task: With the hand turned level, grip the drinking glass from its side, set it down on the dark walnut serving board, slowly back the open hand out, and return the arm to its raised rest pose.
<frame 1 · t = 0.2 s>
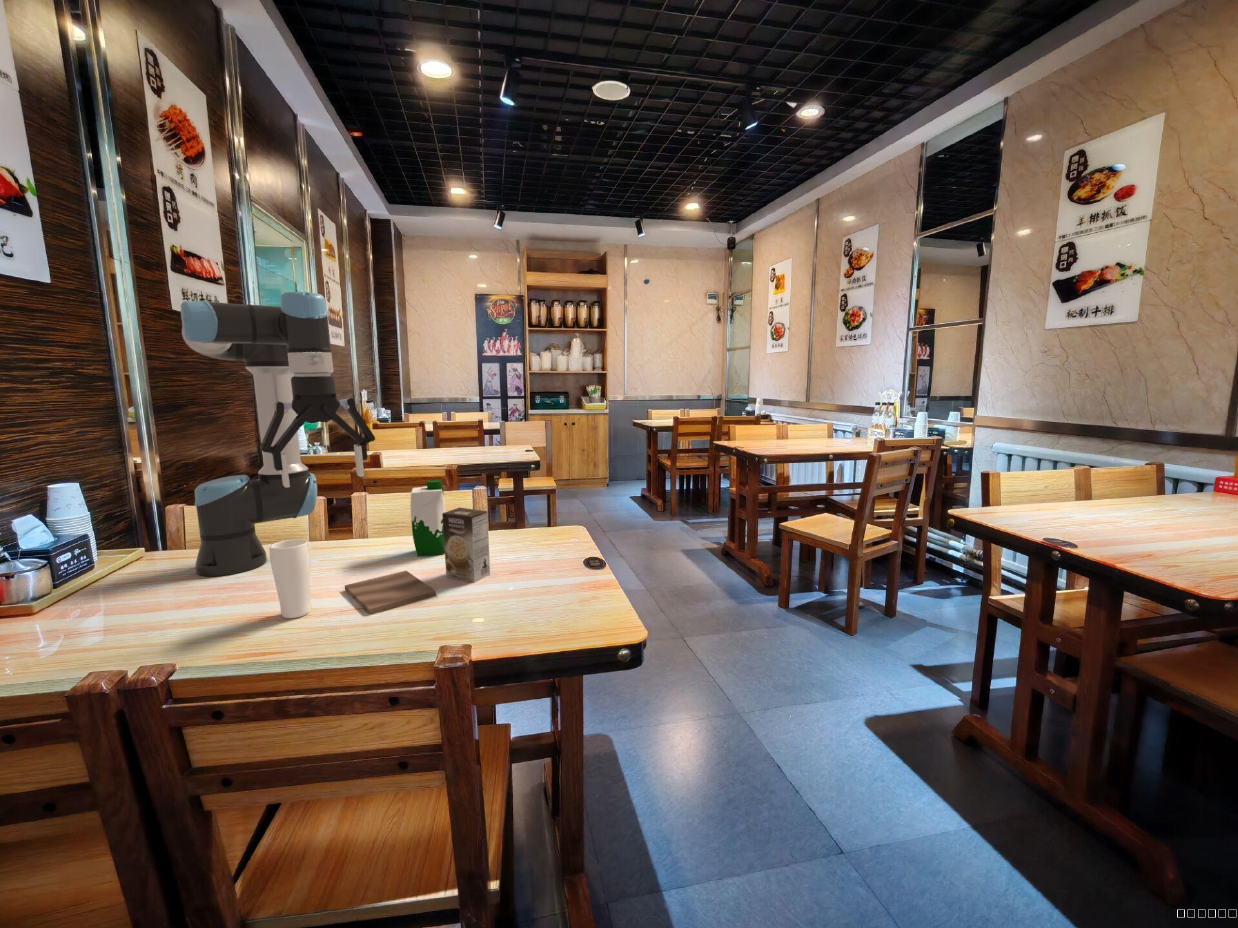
hand: (325, 480, 110), 27 cm above the table, tool pointing down, fingers open, 13 cm apart
serving board: (389, 593, 121), on the table
milk carton: (431, 552, 151), on the table
drinking glass: (297, 614, 111), on the table
coffee box: (468, 576, 132), on the table
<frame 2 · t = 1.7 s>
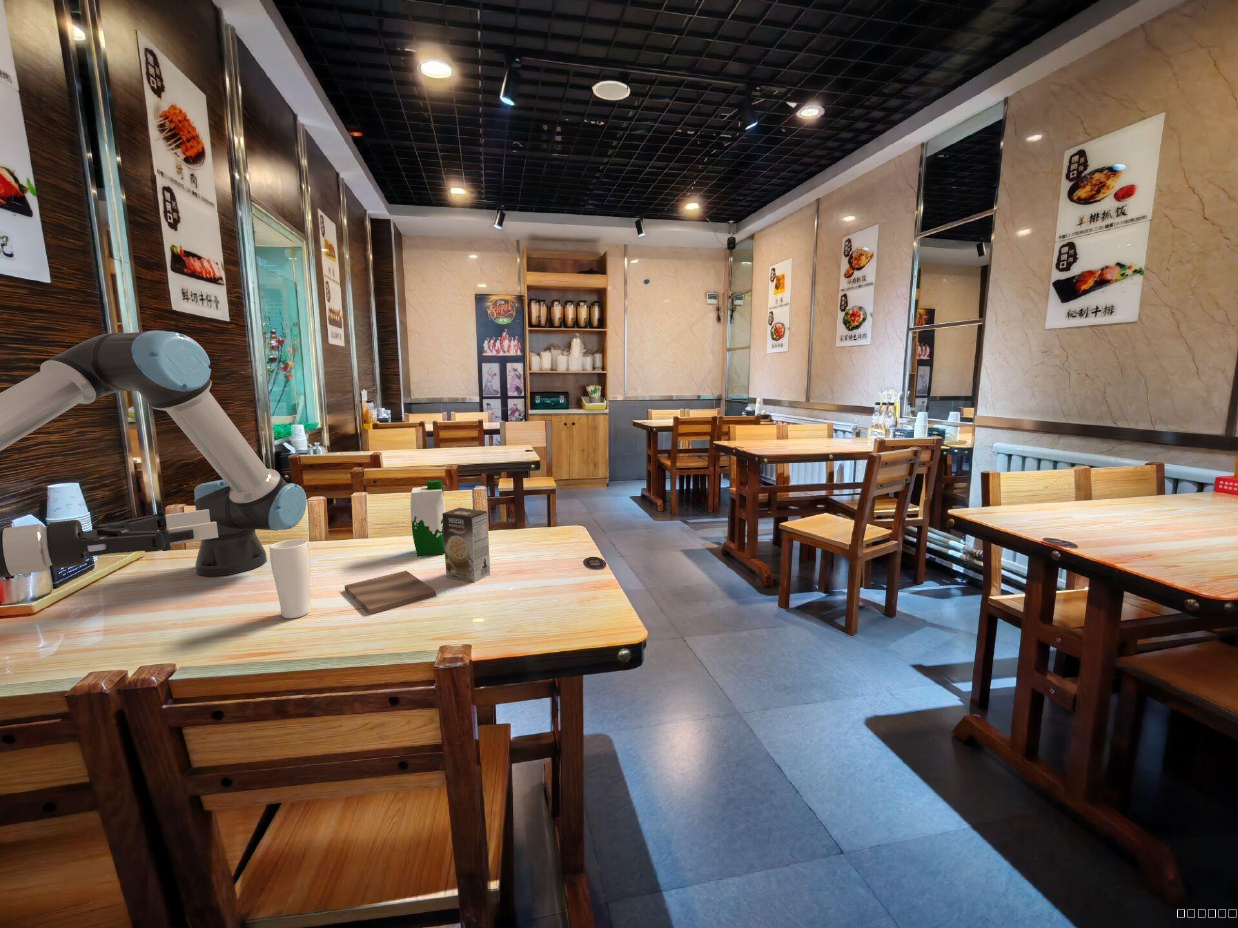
hand: (213, 522, 100), 22 cm above the table, tool horizontal, fingers open, 13 cm apart
nothing on the table moved.
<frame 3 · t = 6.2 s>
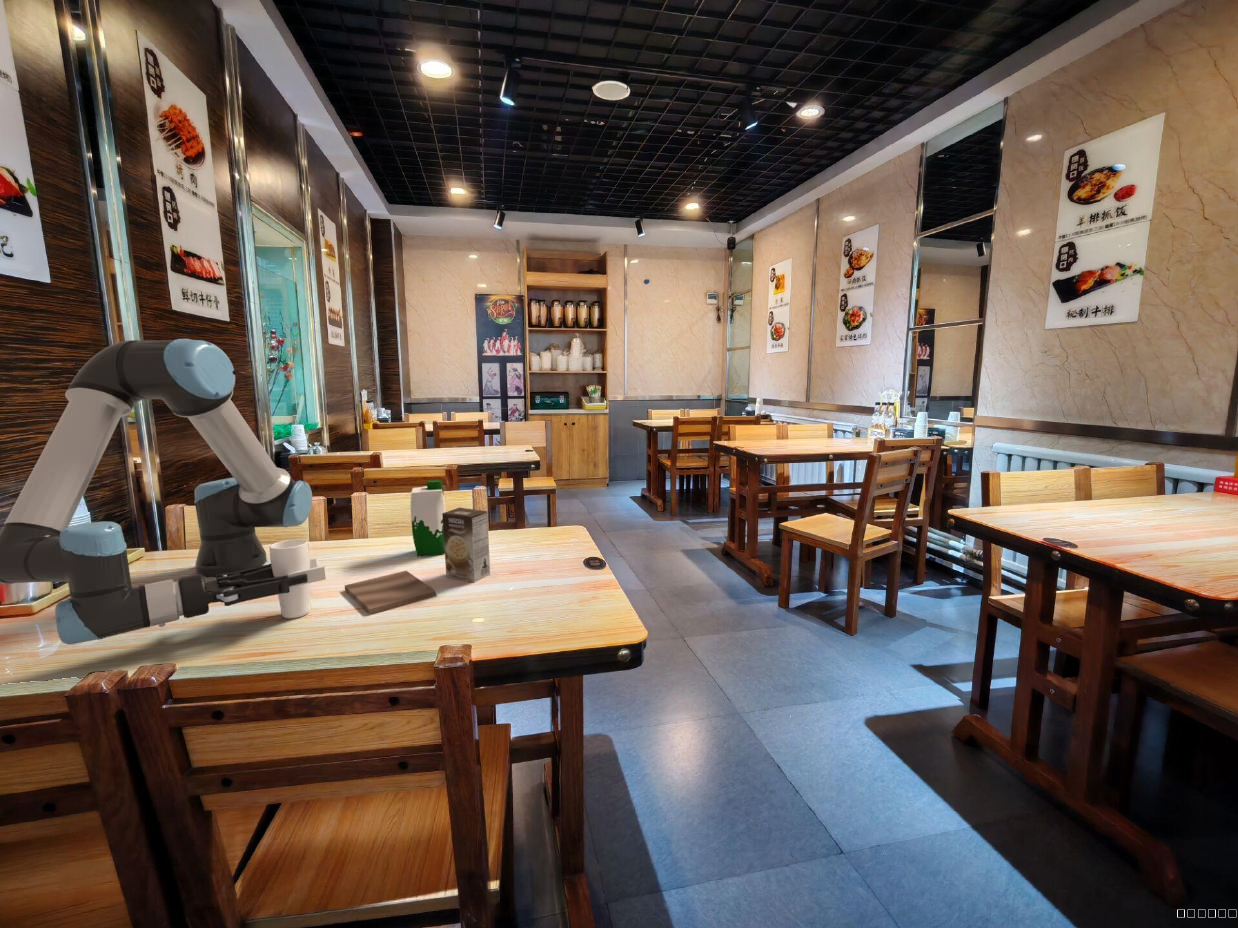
hand: (320, 568, 113), 9 cm above the table, tool horizontal, fingers closed on drinking glass, 6 cm apart
drinking glass: (297, 614, 111), on the table, touching gripper
everything else where it was.
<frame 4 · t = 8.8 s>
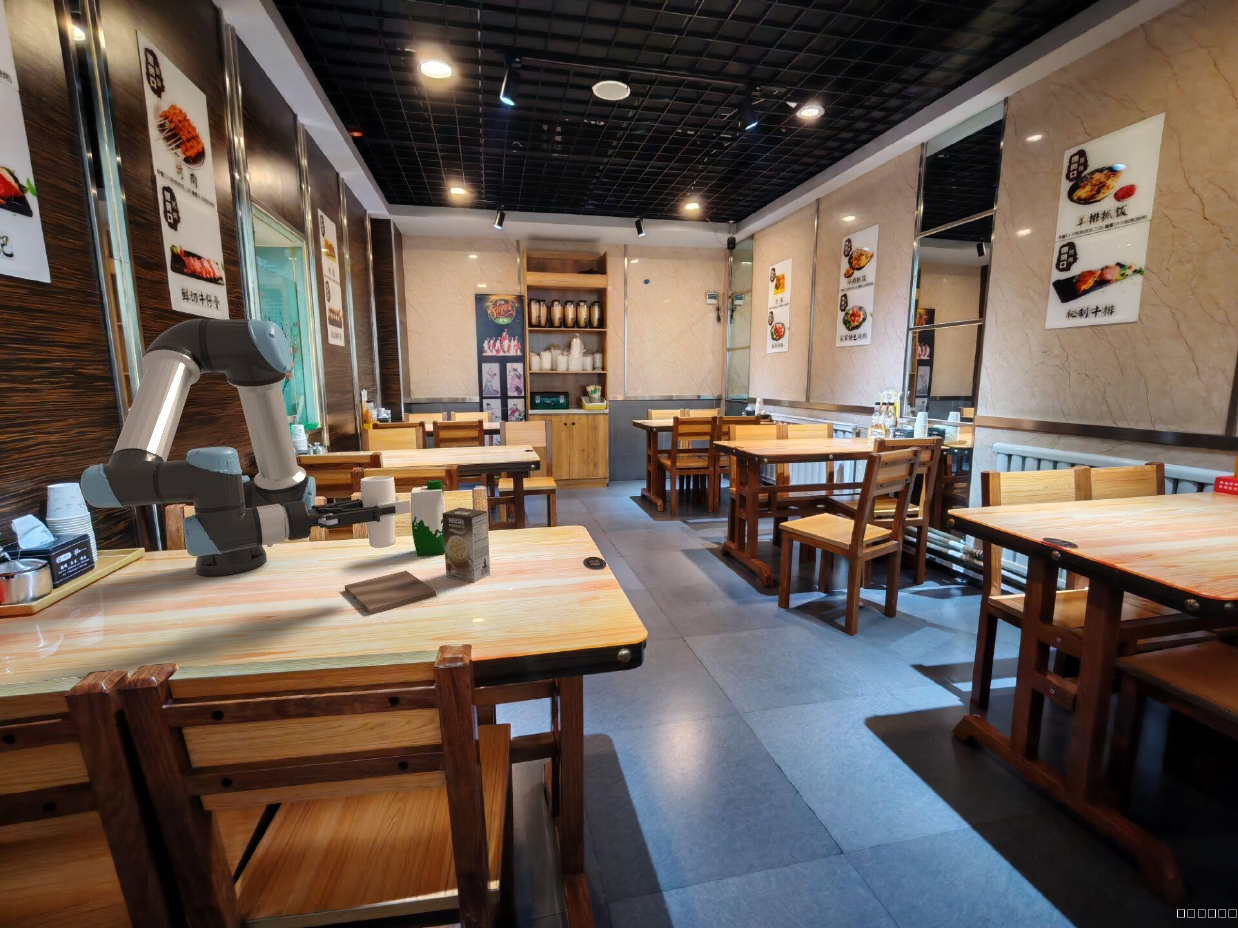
hand: (403, 503, 121), 20 cm above the table, tool horizontal, fingers closed on drinking glass, 6 cm apart
drinking glass: (383, 545, 119), point 11 cm above the table, touching gripper
everything else where it was.
when the fingers open (10 cm above the table, at t = 11.6 s): drinking glass stays where it is, resting on serving board.
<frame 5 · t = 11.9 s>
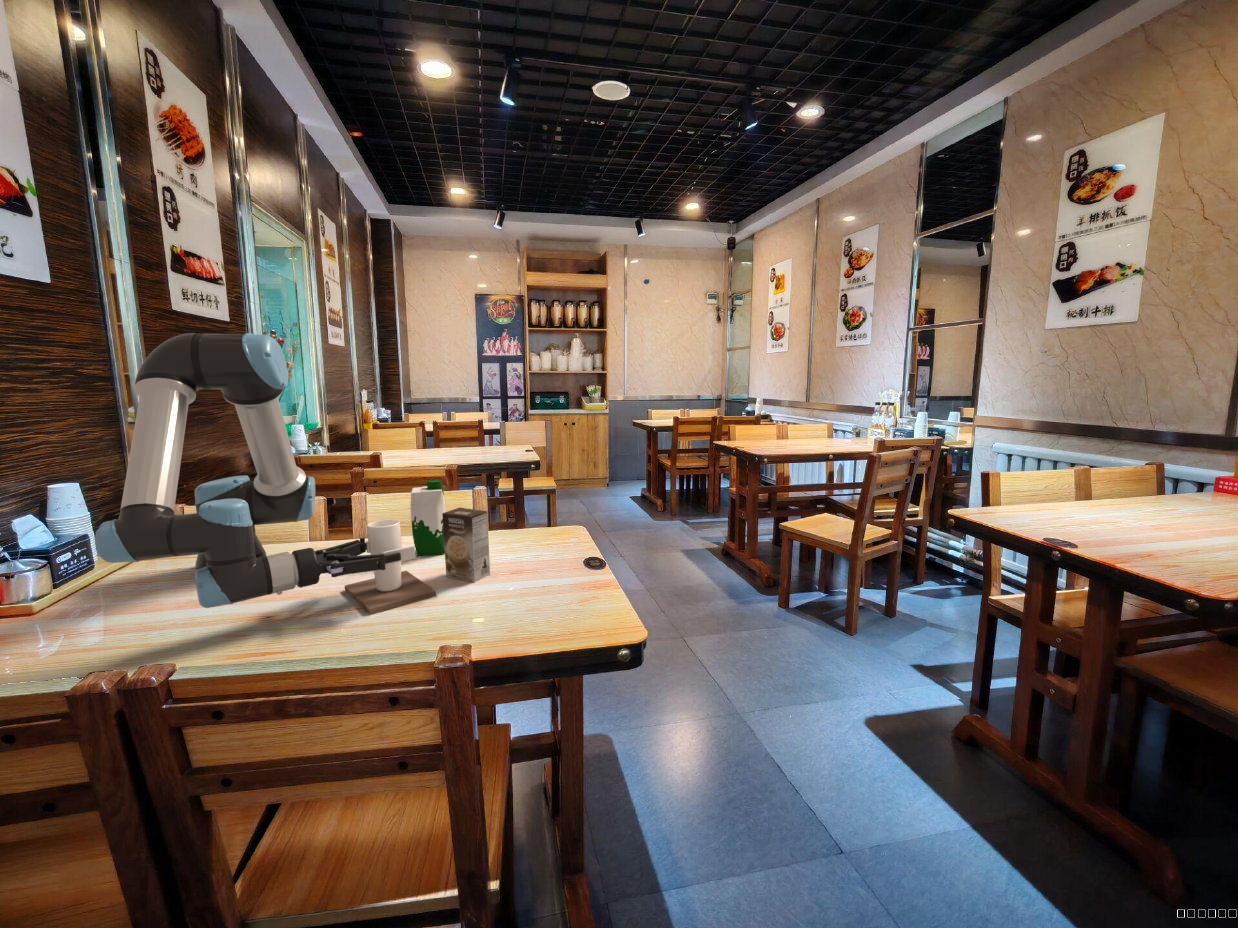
hand: (404, 546, 123), 10 cm above the table, tool horizontal, fingers open, 10 cm apart
drinking glass: (389, 588, 121), point 1 cm above the table, touching serving board
everything else where it was.
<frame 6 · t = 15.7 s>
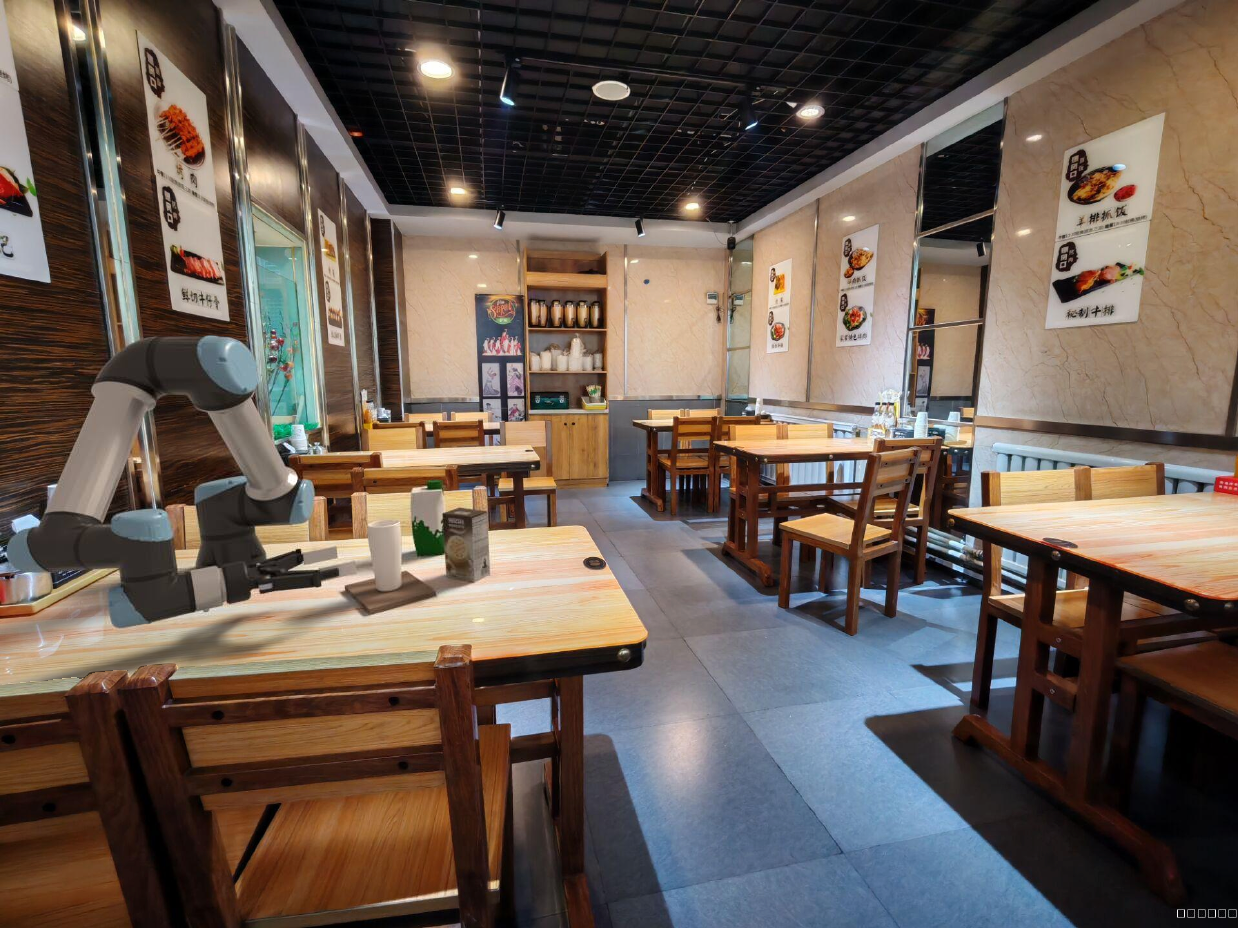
hand: (345, 558, 114), 10 cm above the table, tool horizontal, fingers open, 13 cm apart
nothing on the table moved.
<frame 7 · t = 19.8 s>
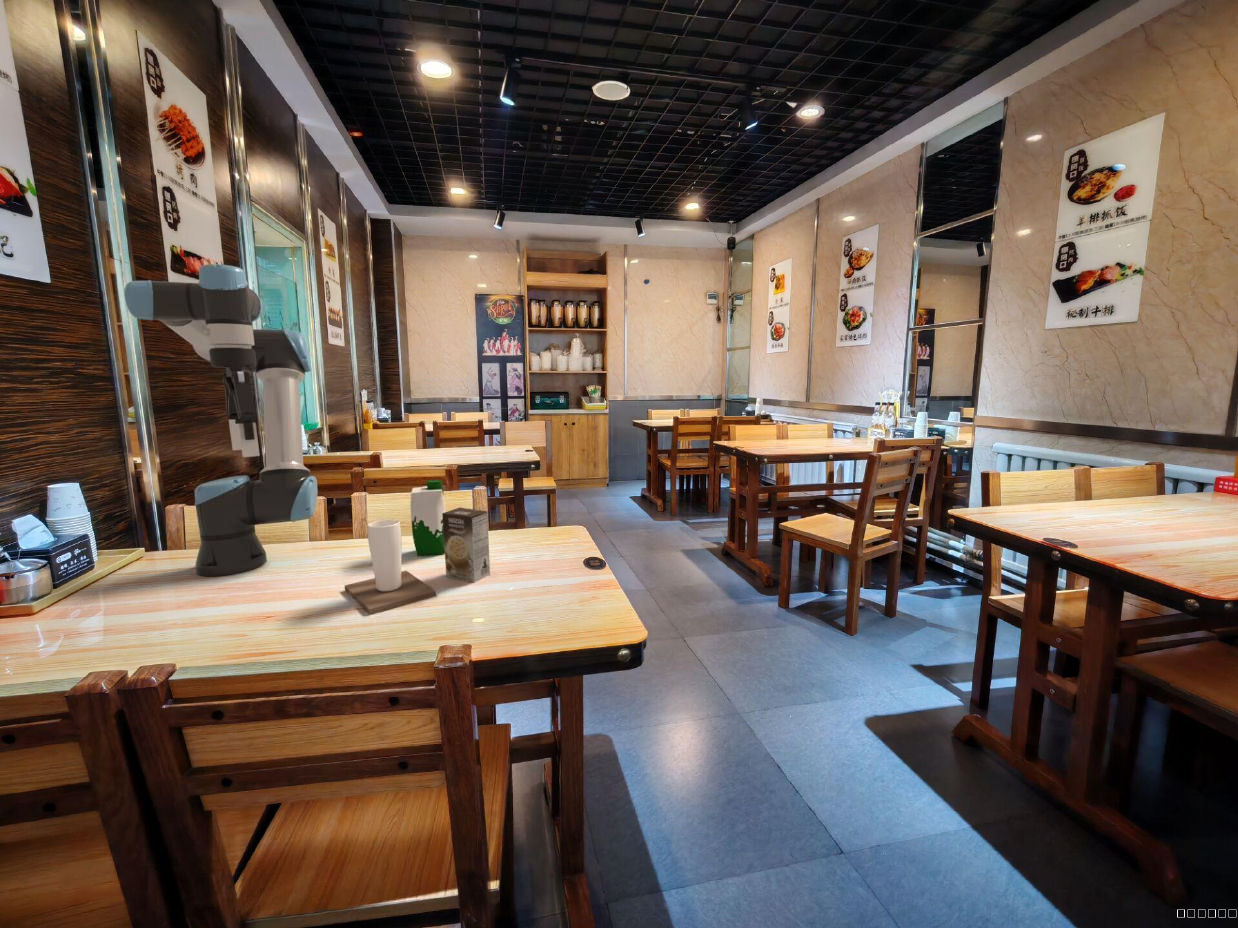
hand: (245, 453, 111), 33 cm above the table, tool pointing down, fingers open, 13 cm apart
nothing on the table moved.
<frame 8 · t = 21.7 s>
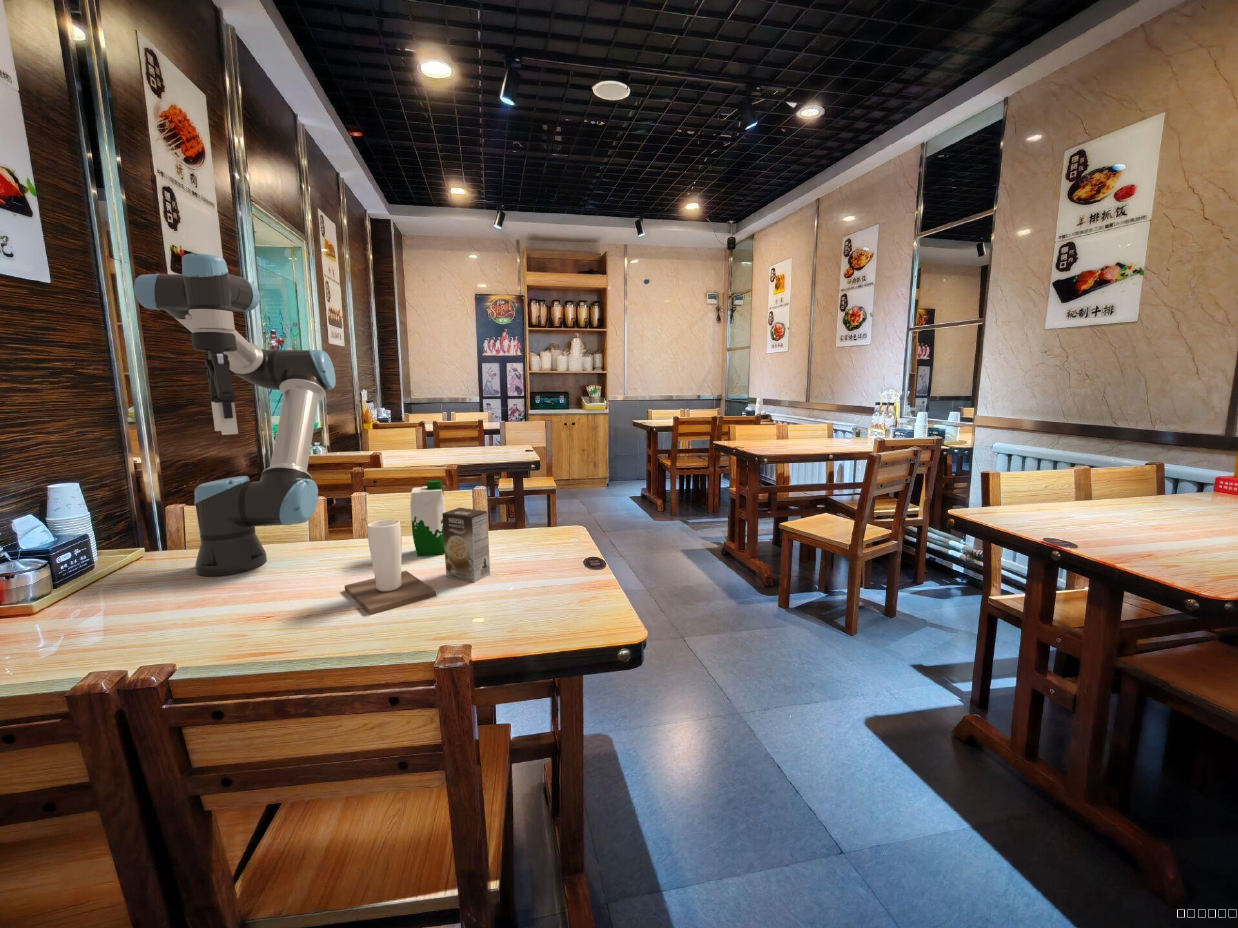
hand: (226, 432, 117), 37 cm above the table, tool pointing down, fingers open, 13 cm apart
nothing on the table moved.
at the end: drinking glass inside the target area on the serving board (0.0 cm from its centre), point 1.0 cm above the serving board's base; drinking glass tilted 0°; the gripper is holding nothing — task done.
